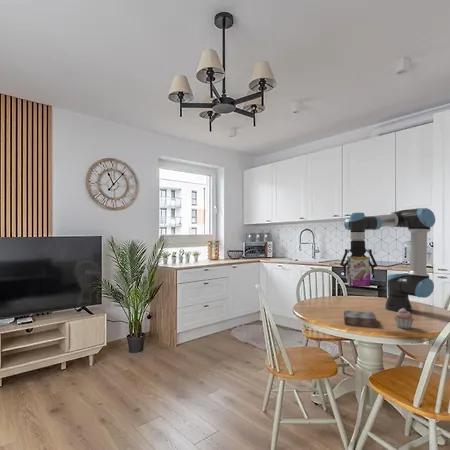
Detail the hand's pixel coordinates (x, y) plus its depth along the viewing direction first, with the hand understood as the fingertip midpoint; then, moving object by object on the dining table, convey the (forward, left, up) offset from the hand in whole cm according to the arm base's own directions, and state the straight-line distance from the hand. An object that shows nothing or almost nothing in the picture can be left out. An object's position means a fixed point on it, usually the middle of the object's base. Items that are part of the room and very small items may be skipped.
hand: (358, 279), depth 173 cm
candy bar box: (0, 0, -4) cm, 4 cm away
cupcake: (-21, +4, -24) cm, 32 cm away
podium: (0, 0, -24) cm, 24 cm away
